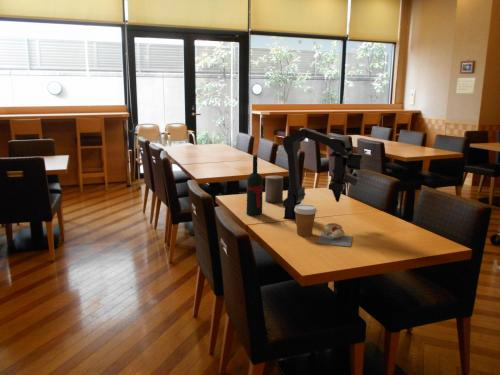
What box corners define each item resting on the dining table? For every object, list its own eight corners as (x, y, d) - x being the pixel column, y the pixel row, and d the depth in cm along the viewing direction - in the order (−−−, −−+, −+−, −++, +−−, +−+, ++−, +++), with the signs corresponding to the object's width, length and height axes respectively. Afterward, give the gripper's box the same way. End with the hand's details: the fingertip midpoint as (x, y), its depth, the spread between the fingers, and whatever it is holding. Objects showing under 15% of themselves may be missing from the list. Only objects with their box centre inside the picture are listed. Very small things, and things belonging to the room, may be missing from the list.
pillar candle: (283, 203, 238) (284, 176, 235) (265, 203, 239) (265, 175, 236) (282, 199, 248) (282, 173, 245) (264, 199, 248) (265, 172, 245)
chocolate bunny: (339, 236, 189) (339, 247, 180) (322, 229, 189) (321, 239, 180) (344, 226, 187) (345, 236, 178) (327, 218, 187) (327, 229, 178)
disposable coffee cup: (301, 238, 183) (302, 210, 180) (289, 232, 191) (290, 205, 188) (320, 235, 187) (321, 208, 184) (307, 229, 195) (308, 203, 192)
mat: (317, 243, 177) (317, 242, 177) (321, 233, 189) (321, 232, 189) (350, 247, 174) (350, 246, 173) (352, 237, 186) (352, 236, 186)
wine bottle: (251, 218, 211) (252, 155, 204) (244, 212, 220) (244, 152, 214) (266, 216, 214) (267, 155, 207) (258, 211, 223) (259, 152, 216)
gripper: (356, 172, 182) (353, 209, 186) (360, 165, 199) (358, 198, 203) (329, 170, 186) (327, 206, 189) (336, 163, 203) (333, 196, 206)
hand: (337, 201), depth 197 cm, fingers closed
